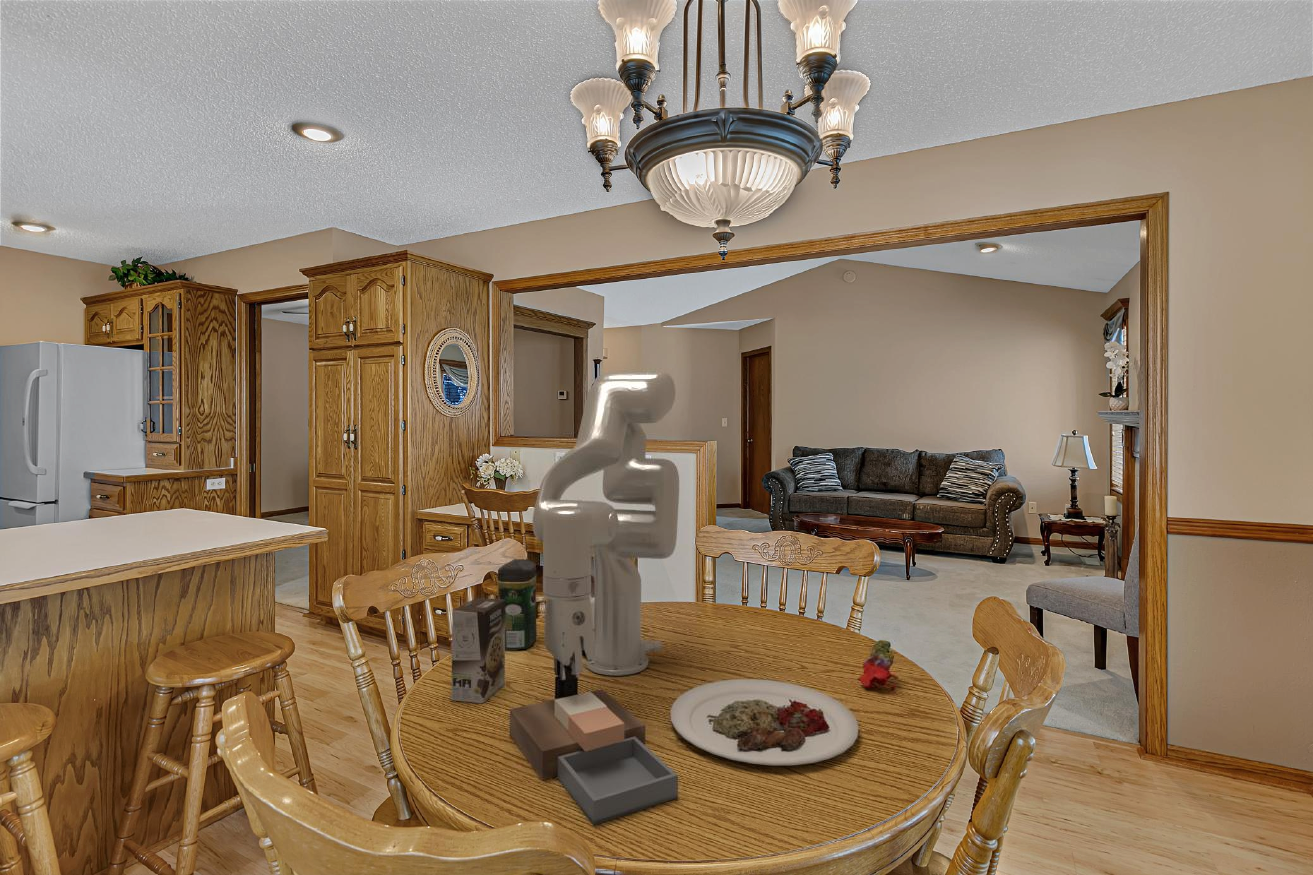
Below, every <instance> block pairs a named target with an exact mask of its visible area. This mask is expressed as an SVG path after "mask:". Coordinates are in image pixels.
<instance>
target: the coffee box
mask: <svg viewBox="0 0 1313 875" xmlns="http://www.w3.org/2000/svg"><path fill="white" fill-rule="evenodd" d="M451 615H452V621H451V624H452V625H451V626H452V627H451V689H450V690H451V692H450V693H451V696H450V699H451V701H456V702H457V701H458V702H465V703H475V704H484V703H485V702H486V701H487V700H489V698H491V697H492V696H493V695H494V694H495V693H496V692H497V691H499V690H500V689H501V688H502V687H504V685H505V684H506V649H505V600H504V599H498V598H479V597H477V598H475V597H474V598H473V599H472V600H470V601H467V602H466V603H464V604H461V605H460V606H459V607H455V608H454V609H452V614H451Z"/></svg>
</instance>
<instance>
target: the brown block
mask: <svg viewBox="0 0 1313 875" xmlns="http://www.w3.org/2000/svg"><path fill="white" fill-rule="evenodd" d="M590 692H591V693H593V694H594V695H595V696H596V697H597V698H598V699H599V700H600V701H602V702H603V703H604V704H605V705H606V706H607V708H608V709H609V710H610V711H611V712H612V713H614V714H615V715H616V716H617V717H618V718H619V719H620V720H621V721H622V722H623V723H624V739H627V738H631V737H636V738H637V739H638V740H639V741H641V742H642V743H643V744H644V745H645V746H646V724H645V723H643V721H641V720H640V719H639V718H637V717H636V716H635V715H634V714H632V713H631V712H630V711H629V710H628V709H627V708H626V707H624V705H622V704H621V703H619V702H618V701H617V700H616V699H614V697H612V696H611V695H610V694H609V693H608V692H606V691H605V690H604V689H598V690H593V691H590ZM509 736H510V737H511V739H512V740H513V741H514V743H515V744H516V746H517V747H518V748H519V750H520V751H521V752H522V754H523V755H524V757H525V758H526V760H527V761H528V763H529V764H530V766H532V768H533V769H534V771H535V773H537V775H538V777H539V778H540V779H541V781H545V780H548V779H553V778H555V777H557V778H558V756H562V755H566V754H570V753H574V752H577V751H581V750H583V749H582V747H581V746H580V745H579V744H578V743H577V742H576V741H575V740H574V738H573V737H572V736H571V735H570V734H569V733H568V730H567V729H566V728H565V727H564V726H563V725H562V724H561V722H560V721H559V720H558V719H557V718H556V717H555V699H551V700H547V701H543V702H542V701H541V702H538V703H537V702H536V703H532V704H528V705H523V706H519V707H514V708H510V709H509Z"/></svg>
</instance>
